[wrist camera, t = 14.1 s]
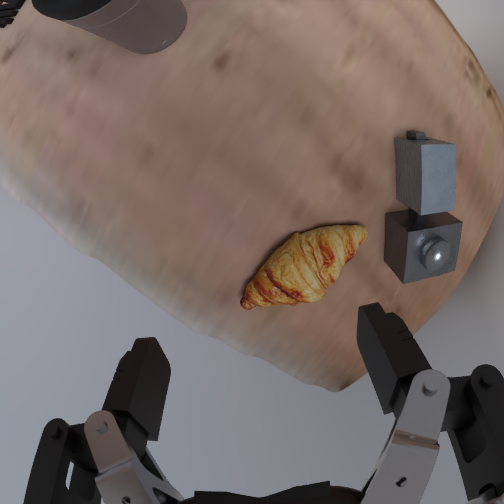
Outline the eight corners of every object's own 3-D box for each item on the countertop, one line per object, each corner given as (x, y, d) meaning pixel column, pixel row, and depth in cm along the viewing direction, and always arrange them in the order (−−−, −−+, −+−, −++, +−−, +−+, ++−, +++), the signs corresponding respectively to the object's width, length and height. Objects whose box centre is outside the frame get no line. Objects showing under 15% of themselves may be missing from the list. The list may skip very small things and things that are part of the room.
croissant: (345, 201, 41) (350, 194, 33) (379, 257, 40) (392, 262, 32) (232, 275, 46) (214, 283, 38) (266, 327, 45) (254, 345, 37)
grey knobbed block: (381, 131, 33) (417, 139, 25) (436, 130, 32) (476, 140, 24) (384, 260, 42) (409, 292, 34) (432, 249, 41) (461, 277, 33)
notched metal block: (393, 137, 33) (421, 144, 27) (426, 137, 33) (455, 144, 26) (396, 198, 37) (420, 215, 31) (427, 194, 37) (453, 210, 30)
